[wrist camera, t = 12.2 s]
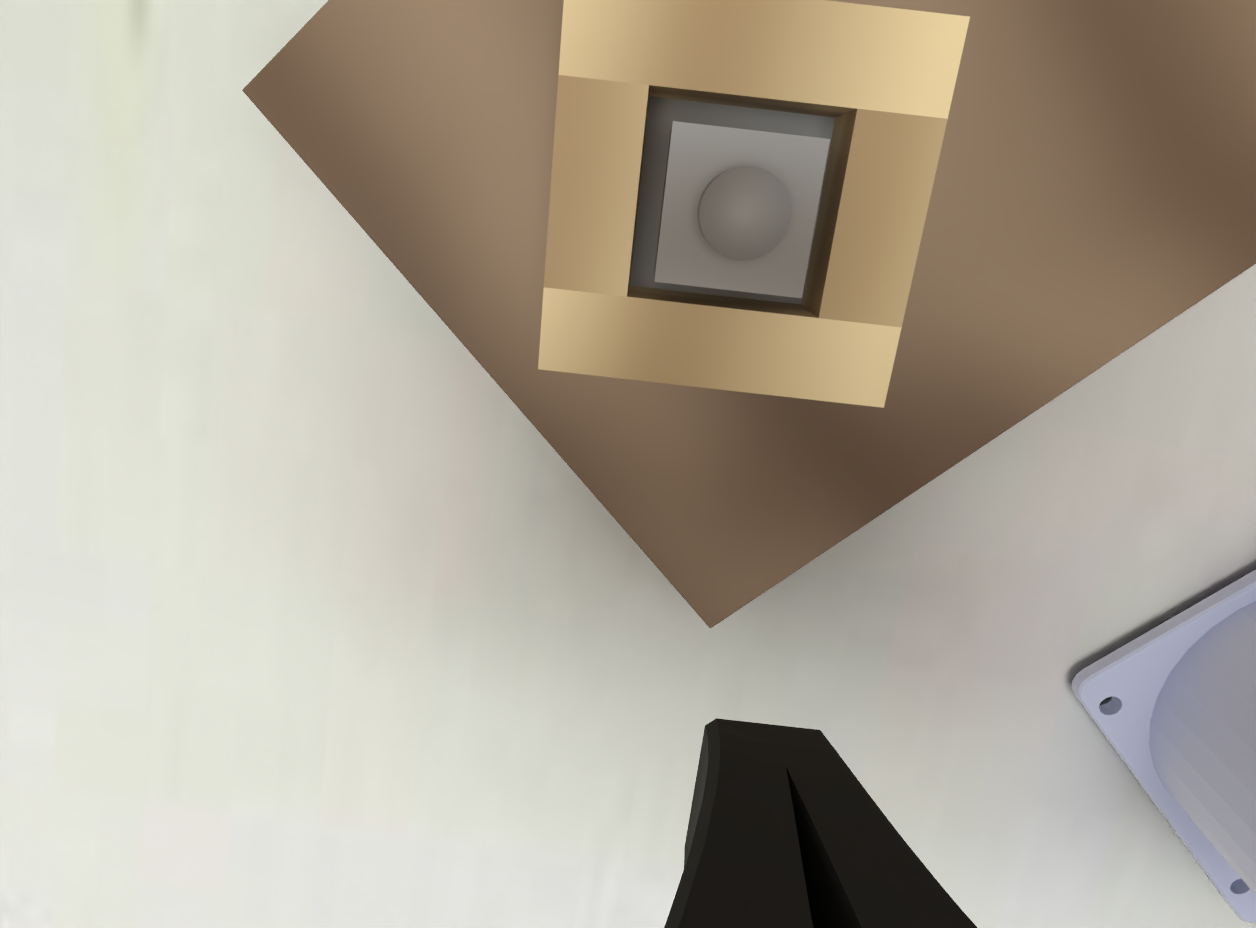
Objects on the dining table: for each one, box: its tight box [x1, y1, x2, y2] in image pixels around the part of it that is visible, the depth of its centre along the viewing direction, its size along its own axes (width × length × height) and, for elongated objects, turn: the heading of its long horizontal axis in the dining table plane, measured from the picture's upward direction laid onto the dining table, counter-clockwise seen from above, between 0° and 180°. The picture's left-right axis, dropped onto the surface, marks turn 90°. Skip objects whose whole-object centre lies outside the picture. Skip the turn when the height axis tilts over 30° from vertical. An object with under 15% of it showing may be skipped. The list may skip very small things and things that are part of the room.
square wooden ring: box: [538, 0, 970, 408], centre depth 13 cm, size 6×6×2 cm
